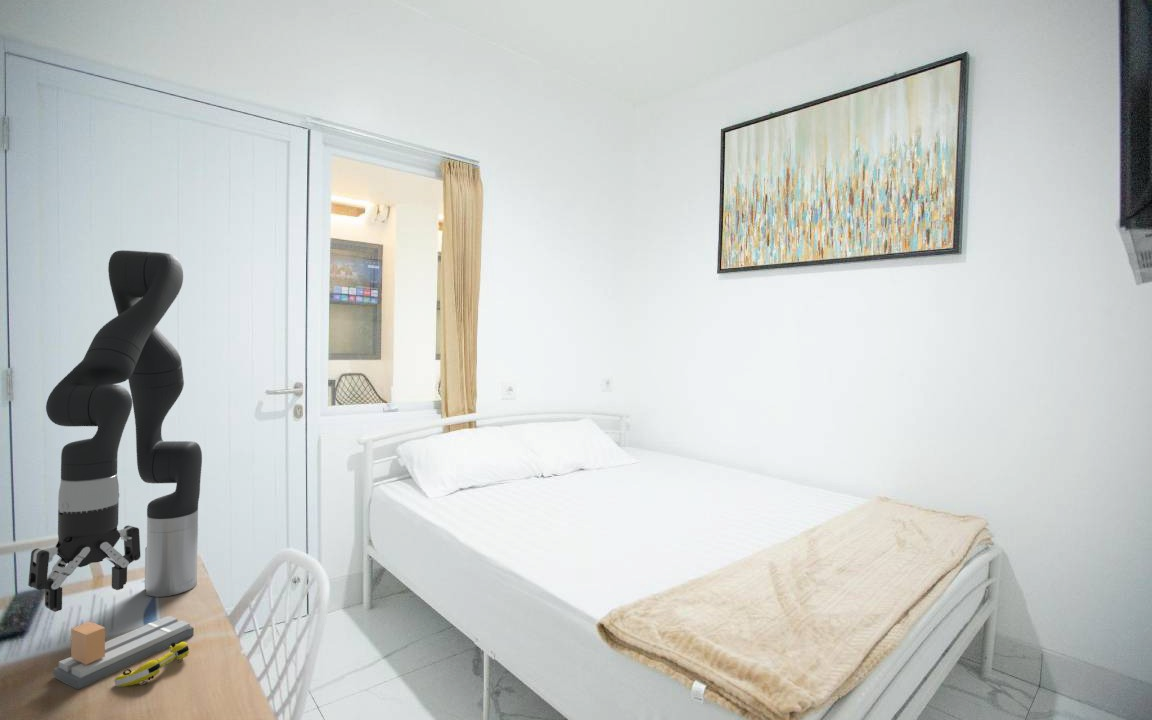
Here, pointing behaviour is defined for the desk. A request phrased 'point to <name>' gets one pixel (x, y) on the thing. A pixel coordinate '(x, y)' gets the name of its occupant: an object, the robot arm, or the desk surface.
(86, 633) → the cap
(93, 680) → the fader track
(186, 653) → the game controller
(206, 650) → the desk surface
